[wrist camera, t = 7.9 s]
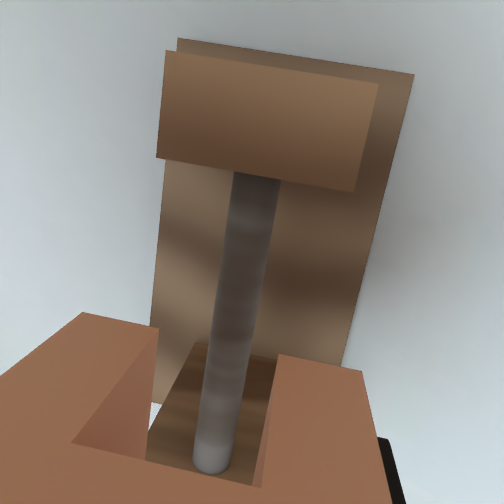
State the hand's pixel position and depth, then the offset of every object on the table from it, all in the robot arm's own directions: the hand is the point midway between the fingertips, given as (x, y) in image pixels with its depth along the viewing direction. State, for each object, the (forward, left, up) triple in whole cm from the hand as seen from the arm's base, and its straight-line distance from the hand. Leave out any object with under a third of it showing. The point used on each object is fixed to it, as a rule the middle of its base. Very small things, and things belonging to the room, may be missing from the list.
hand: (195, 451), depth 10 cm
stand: (0, 0, -16) cm, 16 cm away
